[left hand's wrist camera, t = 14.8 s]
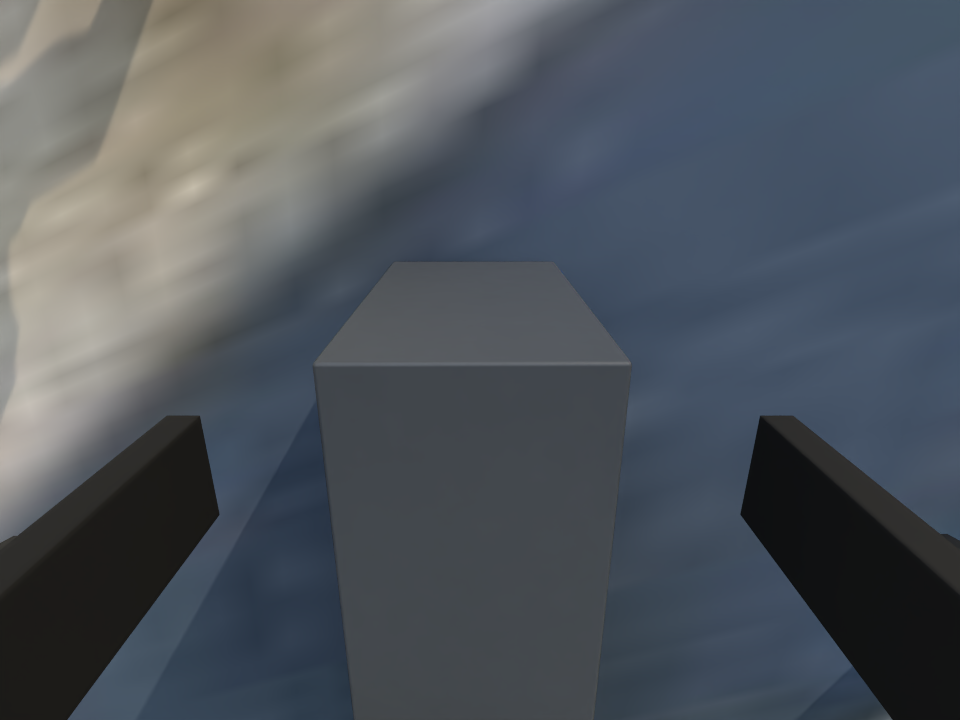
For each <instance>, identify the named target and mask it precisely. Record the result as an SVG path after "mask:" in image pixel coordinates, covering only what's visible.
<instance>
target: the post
mask: <svg viewBox="0 0 960 720" xmlns="http://www.w3.org/2000/svg"><path fill="white" fill-rule="evenodd" d="M631 368H632V364H631V362H630V360H629V359H628V358H627V357H626V355H625V354H624V353H623V351H622V350H621V349H620V347H619V346H618V345H617V344H616V342H615V341H614V340H613V338H612V337H611V336H610V334H609V333H608V332H607V331H606V329H605V328H604V327H603V325H602V324H601V323H600V322H599V320H598V319H597V318H596V316H595V315H594V314H593V312H592V311H591V310H590V309H589V307H588V306H587V305H586V303H585V302H584V301H583V299H582V298H581V297H580V296H579V294H578V293H577V292H576V290H575V289H574V288H573V287H572V285H571V284H570V283H569V281H568V280H567V279H566V277H565V276H564V275H563V274H562V272H561V271H560V270H559V268H558V267H557V266H556V264H555V263H554V262H393V264H392V265H391V266H390V267H389V269H388V270H387V271H386V272H385V274H384V275H383V276H382V277H381V279H380V280H379V281H378V282H377V284H376V285H375V286H374V288H373V289H372V290H371V291H370V293H369V294H368V295H367V296H366V298H365V299H364V300H363V301H362V303H361V304H360V305H359V306H358V308H357V309H356V310H355V311H354V313H353V314H352V315H351V316H350V318H349V319H348V320H347V321H346V323H345V324H344V325H343V327H342V328H341V329H340V330H339V332H338V333H337V334H336V335H335V337H334V338H333V339H332V340H331V342H330V343H329V344H328V345H327V347H326V348H325V349H324V350H323V352H322V353H321V354H320V355H319V357H318V358H317V359H316V360H315V362H314V363H313V373H314V381H315V390H316V398H317V407H318V416H319V424H320V433H321V441H322V450H323V459H324V467H325V476H326V484H327V493H328V502H329V510H330V519H331V527H332V536H333V545H334V553H335V562H336V570H337V579H338V588H339V596H340V605H341V613H342V622H343V631H344V639H345V648H346V656H347V665H348V674H349V682H350V691H351V699H352V708H353V717H354V720H594V711H595V702H596V692H597V683H598V674H599V665H600V655H601V646H602V637H603V627H604V618H605V609H606V600H607V590H608V581H609V572H610V562H611V553H612V544H613V535H614V525H615V516H616V507H617V498H618V488H619V479H620V470H621V460H622V451H623V442H624V433H625V423H626V414H627V405H628V395H629V386H630V377H631Z"/></svg>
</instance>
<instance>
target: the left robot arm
mask: <svg viewBox="0 0 960 720" xmlns="http://www.w3.org/2000/svg"><path fill="white" fill-rule="evenodd" d="M218 516H219V510H218V504H217V499H216V494H215V489H214V484H213V479H212V474H211V469H210V464H209V459H208V454H207V449H206V444H205V439H204V434H203V429H202V424H201V419H200V416H166V417H165V418H164V419H162V420H161V421H160V422H159V423H157V424H156V425H155V426H154V427H152V428H151V429H150V430H149V431H147V432H146V433H145V434H144V435H142V436H141V437H140V438H139V439H138V440H136V441H135V442H134V443H133V444H131V445H130V446H129V447H128V448H126V449H125V450H124V451H123V452H121V453H120V454H119V455H118V456H116V457H115V458H114V459H113V460H111V461H110V462H109V463H108V464H106V465H105V466H104V467H103V468H101V469H100V470H99V471H98V472H96V473H95V474H94V475H93V476H92V477H90V478H89V479H88V480H87V481H85V482H84V483H83V484H82V485H80V486H79V487H78V488H77V489H75V490H74V491H73V492H72V493H70V494H69V495H68V496H67V497H65V498H64V499H63V500H62V501H60V502H59V503H58V504H57V505H55V506H54V507H53V508H52V509H51V510H49V511H48V512H47V513H46V514H44V515H43V516H42V517H41V518H39V519H38V520H37V521H36V522H34V523H33V524H32V525H31V526H29V527H28V528H27V529H26V530H24V531H23V532H22V533H21V534H19V535H18V536H13V537H11V538H9V539H7V540H5V541H3V542H1V543H0V720H67V719H68V718H69V717H70V715H71V714H72V713H73V711H74V710H75V708H76V707H77V706H78V704H79V703H80V702H81V700H82V699H83V698H84V696H85V695H86V694H87V692H88V691H89V690H90V688H91V687H92V686H93V684H94V683H95V682H96V680H97V679H98V678H99V676H100V675H101V673H102V672H103V671H104V669H105V668H106V667H107V665H108V664H109V663H110V661H111V660H112V659H113V657H114V656H115V655H116V653H117V652H118V651H119V649H120V648H121V647H122V645H123V644H124V643H125V641H126V640H127V638H128V637H129V636H130V634H131V633H132V632H133V630H134V629H135V628H136V626H137V625H138V624H139V622H140V621H141V620H142V618H143V617H144V616H145V614H146V613H147V612H148V610H149V609H150V608H151V606H152V605H153V603H154V602H155V601H156V599H157V598H158V597H159V595H160V594H161V593H162V591H163V590H164V589H165V587H166V586H167V585H168V583H169V582H170V581H171V579H172V578H173V577H174V575H175V574H176V573H177V571H178V570H179V568H180V567H181V566H182V564H183V563H184V562H185V560H186V559H187V558H188V556H189V555H190V554H191V552H192V551H193V550H194V548H195V547H196V546H197V544H198V543H199V542H200V540H201V539H202V538H203V536H204V535H205V533H206V532H207V531H208V529H209V528H210V527H211V525H212V524H213V523H214V521H215V520H216V519H217V517H218ZM741 516H742V517H743V519H744V520H745V521H746V523H747V524H748V525H749V527H750V528H751V529H752V531H753V532H754V533H755V535H756V536H757V538H758V539H759V540H760V542H761V543H762V544H763V546H764V547H765V548H766V550H767V551H768V552H769V554H770V555H771V556H772V558H773V559H774V560H775V562H776V563H777V564H778V566H779V567H780V568H781V570H782V571H783V573H784V574H785V575H786V577H787V578H788V579H789V581H790V582H791V583H792V585H793V586H794V587H795V589H796V590H797V591H798V593H799V594H800V595H801V597H802V598H803V599H804V601H805V602H806V603H807V605H808V606H809V608H810V609H811V610H812V612H813V613H814V614H815V616H816V617H817V618H818V620H819V621H820V622H821V624H822V625H823V626H824V628H825V629H826V630H827V632H828V633H829V634H830V636H831V637H832V638H833V640H834V641H835V643H836V644H837V645H838V647H839V648H840V649H841V651H842V652H843V653H844V655H845V656H846V657H847V659H848V660H849V661H850V663H851V664H852V665H853V667H854V668H855V669H856V671H857V672H858V673H859V675H860V676H861V678H862V679H863V680H864V682H865V683H866V684H867V686H868V687H869V688H870V690H871V691H872V692H873V694H874V695H875V696H876V698H877V699H878V700H879V702H880V703H881V704H882V706H883V707H884V708H885V710H886V711H887V713H888V714H889V715H890V717H891V718H892V719H893V720H960V541H959V540H957V539H955V538H953V537H952V536H950V535H948V534H939V533H938V532H937V531H936V530H934V529H933V528H932V527H931V526H929V525H928V524H927V523H926V522H924V521H923V520H922V519H921V518H919V517H918V516H917V515H916V514H914V513H913V512H912V511H911V510H909V509H908V508H907V507H906V506H905V505H903V504H902V503H901V502H900V501H898V500H897V499H896V498H895V497H893V496H892V495H891V494H890V493H888V492H887V491H886V490H885V489H883V488H882V487H881V486H880V485H878V484H877V483H876V482H875V481H873V480H872V479H871V478H870V477H868V476H867V475H866V474H865V473H864V472H862V471H861V470H860V469H859V468H857V467H856V466H855V465H854V464H852V463H851V462H850V461H849V460H847V459H846V458H845V457H844V456H842V455H841V454H840V453H839V452H837V451H836V450H835V449H834V448H832V447H831V446H830V445H829V444H827V443H826V442H825V441H824V440H822V439H821V438H820V437H819V436H818V435H816V434H815V433H814V432H813V431H811V430H810V429H809V428H808V427H806V426H805V425H804V424H803V423H801V422H800V421H799V420H798V419H796V418H795V417H794V416H760V419H759V424H758V429H757V434H756V439H755V444H754V449H753V454H752V459H751V464H750V469H749V474H748V479H747V484H746V489H745V494H744V499H743V504H742V510H741Z"/></svg>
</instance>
